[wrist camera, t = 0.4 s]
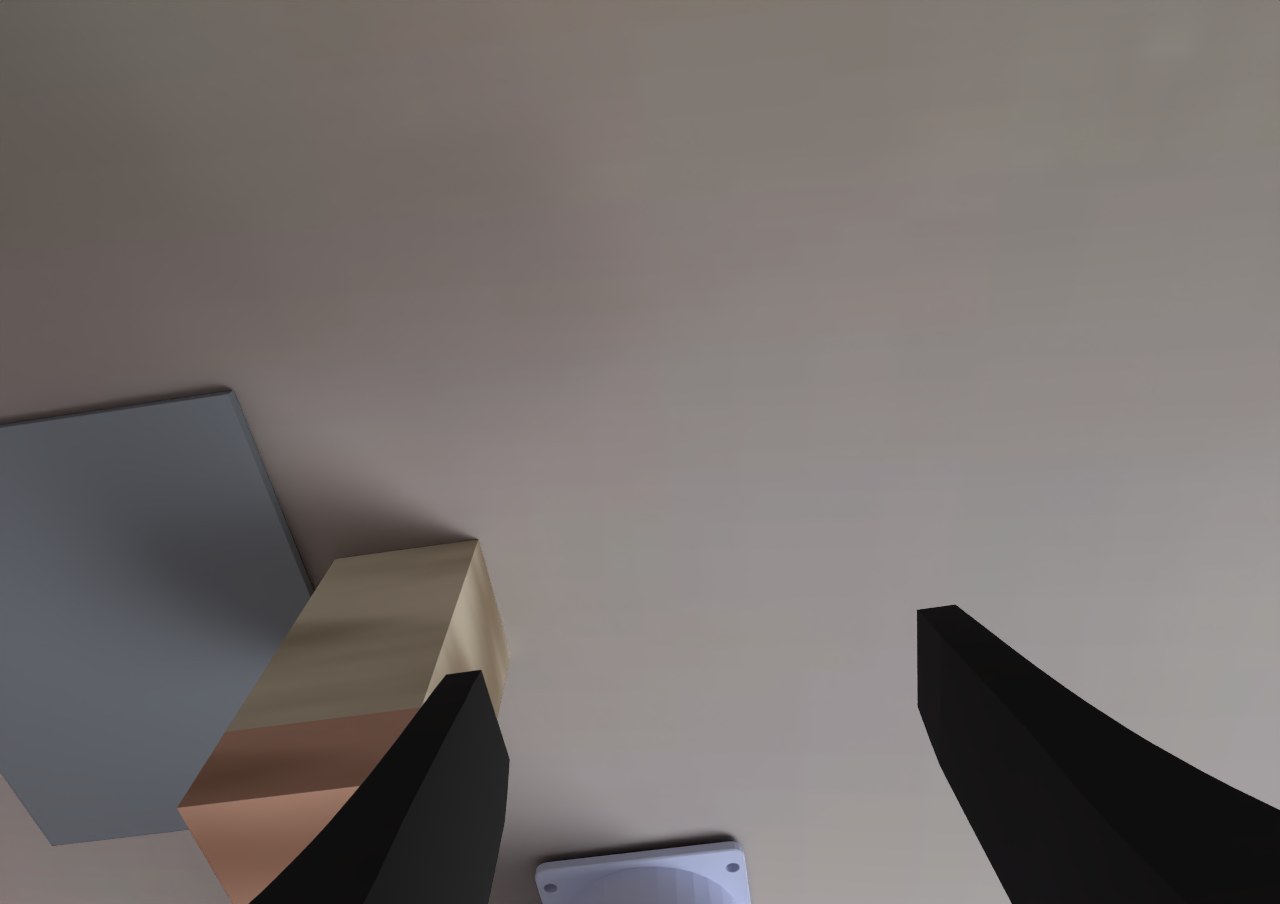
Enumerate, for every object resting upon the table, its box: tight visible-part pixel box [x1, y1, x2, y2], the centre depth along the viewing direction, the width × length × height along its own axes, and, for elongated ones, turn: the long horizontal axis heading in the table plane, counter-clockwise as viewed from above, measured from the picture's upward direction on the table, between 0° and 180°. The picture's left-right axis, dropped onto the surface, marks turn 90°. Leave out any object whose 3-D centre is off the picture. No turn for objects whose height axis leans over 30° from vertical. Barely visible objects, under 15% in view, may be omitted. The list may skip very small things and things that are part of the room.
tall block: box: [177, 540, 511, 904], centre depth 20 cm, size 4×4×9 cm
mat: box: [0, 390, 314, 846], centre depth 24 cm, size 16×13×1 cm
